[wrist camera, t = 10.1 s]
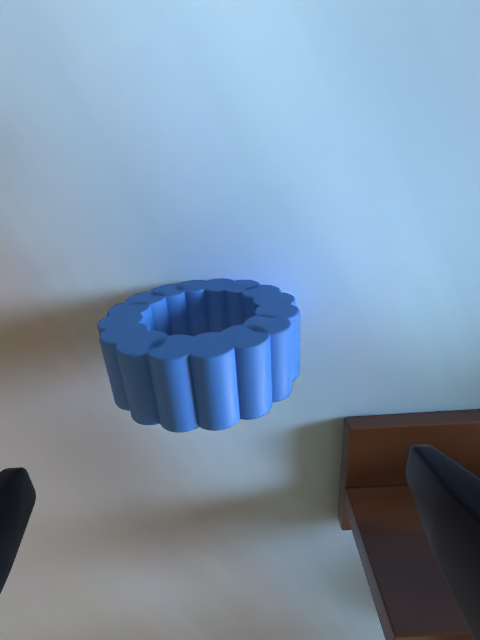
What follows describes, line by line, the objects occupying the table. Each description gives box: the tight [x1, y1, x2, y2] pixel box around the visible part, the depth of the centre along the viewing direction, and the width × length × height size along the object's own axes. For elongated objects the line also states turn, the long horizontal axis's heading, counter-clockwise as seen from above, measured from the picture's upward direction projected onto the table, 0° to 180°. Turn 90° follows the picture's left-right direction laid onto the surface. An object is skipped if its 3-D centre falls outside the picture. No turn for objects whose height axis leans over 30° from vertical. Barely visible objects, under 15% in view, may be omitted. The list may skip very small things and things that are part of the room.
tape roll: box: [97, 279, 300, 432], centre depth 14 cm, size 3×7×7 cm, turn 94°
